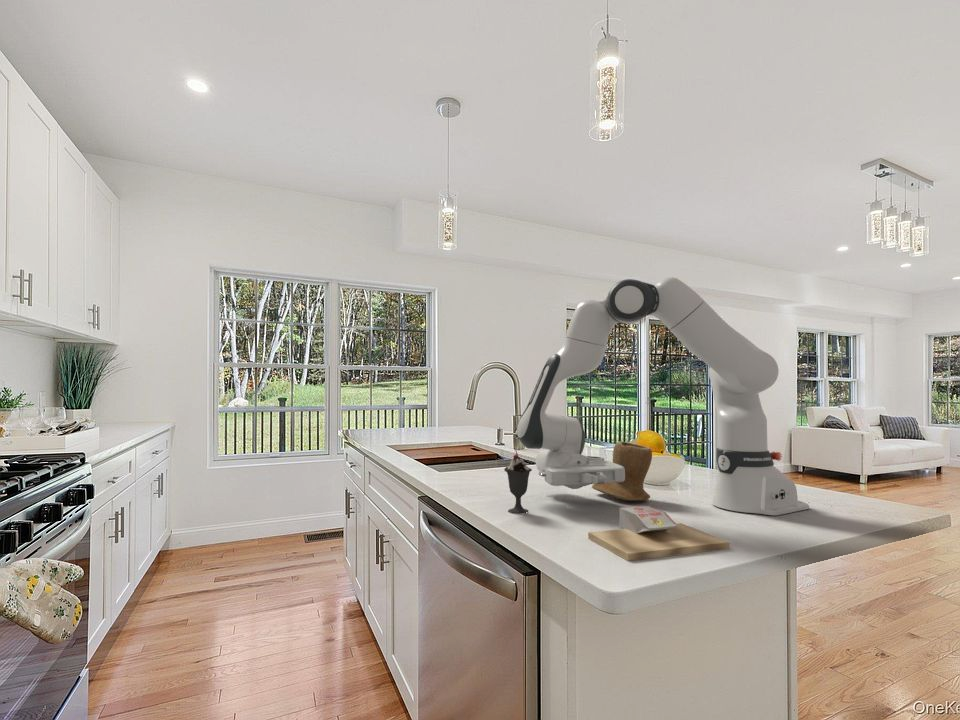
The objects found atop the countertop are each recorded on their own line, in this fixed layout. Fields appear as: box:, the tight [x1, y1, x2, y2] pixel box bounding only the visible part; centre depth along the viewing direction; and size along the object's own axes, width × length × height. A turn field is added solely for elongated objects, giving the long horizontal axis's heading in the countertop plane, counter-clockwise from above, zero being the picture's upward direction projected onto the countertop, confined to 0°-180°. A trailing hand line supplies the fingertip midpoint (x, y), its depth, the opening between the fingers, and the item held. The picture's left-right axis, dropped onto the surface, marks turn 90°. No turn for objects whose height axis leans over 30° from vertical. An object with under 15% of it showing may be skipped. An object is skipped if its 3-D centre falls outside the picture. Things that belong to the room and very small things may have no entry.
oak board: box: [587, 522, 731, 562], centre depth 99 cm, size 22×14×1 cm, turn 108°
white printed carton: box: [618, 505, 679, 534], centre depth 104 cm, size 4×7×10 cm
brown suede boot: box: [591, 440, 653, 502], centre depth 139 cm, size 15×12×15 cm
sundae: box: [504, 447, 533, 514], centre depth 124 cm, size 7×7×15 cm
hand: (601, 480), depth 120 cm, fingers closed
